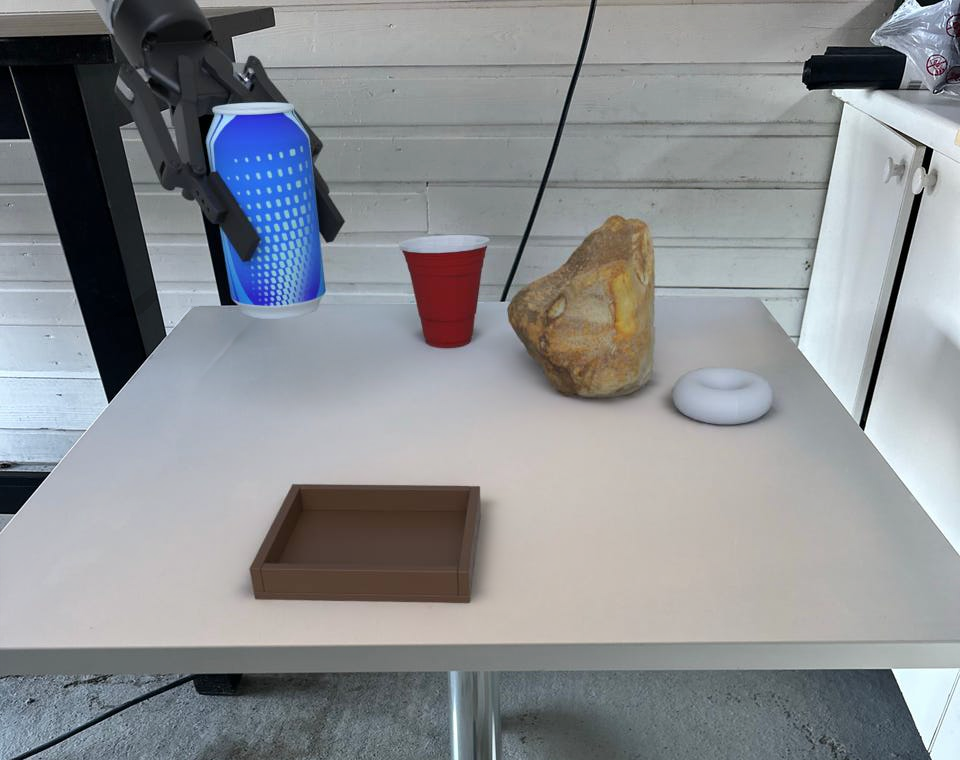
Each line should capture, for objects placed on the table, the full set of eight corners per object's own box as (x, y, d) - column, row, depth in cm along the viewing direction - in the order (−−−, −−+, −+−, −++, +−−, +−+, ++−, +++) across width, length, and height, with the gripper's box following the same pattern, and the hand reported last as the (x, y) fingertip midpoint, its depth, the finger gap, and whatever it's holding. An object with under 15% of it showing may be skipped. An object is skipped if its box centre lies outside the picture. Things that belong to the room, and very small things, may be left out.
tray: (254, 599, 67) (248, 568, 65) (296, 511, 78) (292, 483, 76) (469, 603, 66) (468, 571, 64) (480, 514, 77) (480, 485, 75)
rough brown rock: (531, 341, 116) (521, 214, 108) (664, 337, 112) (665, 204, 103) (488, 415, 98) (472, 270, 90) (645, 414, 94) (644, 261, 85)
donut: (730, 389, 100) (651, 402, 96) (735, 357, 98) (655, 369, 94) (790, 421, 92) (706, 436, 89) (797, 387, 90) (712, 401, 87)
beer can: (315, 292, 88) (294, 99, 79) (337, 315, 82) (316, 108, 73) (227, 302, 86) (194, 104, 77) (241, 326, 79) (208, 114, 70)
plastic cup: (475, 323, 120) (473, 224, 113) (503, 348, 112) (502, 243, 105) (394, 333, 118) (387, 232, 111) (417, 358, 109) (410, 251, 102)
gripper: (239, 44, 87) (368, 247, 88) (24, 56, 75) (176, 294, 75) (266, -26, 81) (404, 192, 82) (37, -26, 69) (202, 233, 69)
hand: (295, 241), depth 79 cm, fingers closed on beer can, 8 cm apart
